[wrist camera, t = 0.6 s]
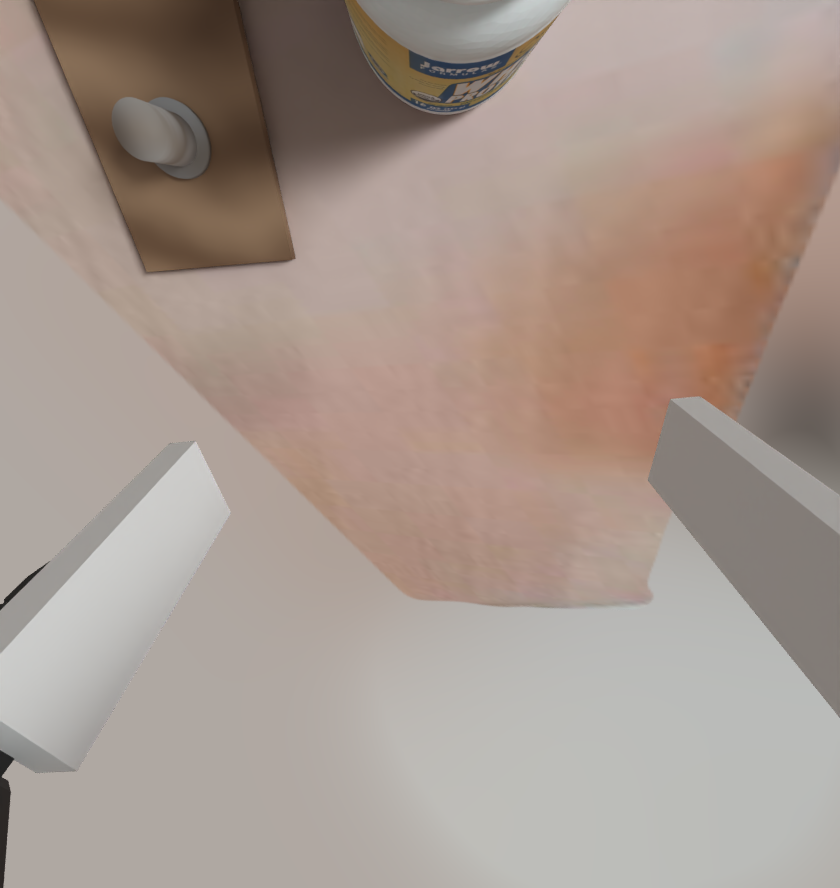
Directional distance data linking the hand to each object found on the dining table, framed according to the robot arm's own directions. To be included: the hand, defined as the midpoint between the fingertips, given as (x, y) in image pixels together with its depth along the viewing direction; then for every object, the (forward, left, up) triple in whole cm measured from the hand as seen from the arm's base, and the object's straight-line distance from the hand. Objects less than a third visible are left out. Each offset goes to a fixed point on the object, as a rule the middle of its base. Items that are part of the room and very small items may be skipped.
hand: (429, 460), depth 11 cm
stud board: (-11, -16, -26) cm, 33 cm away
